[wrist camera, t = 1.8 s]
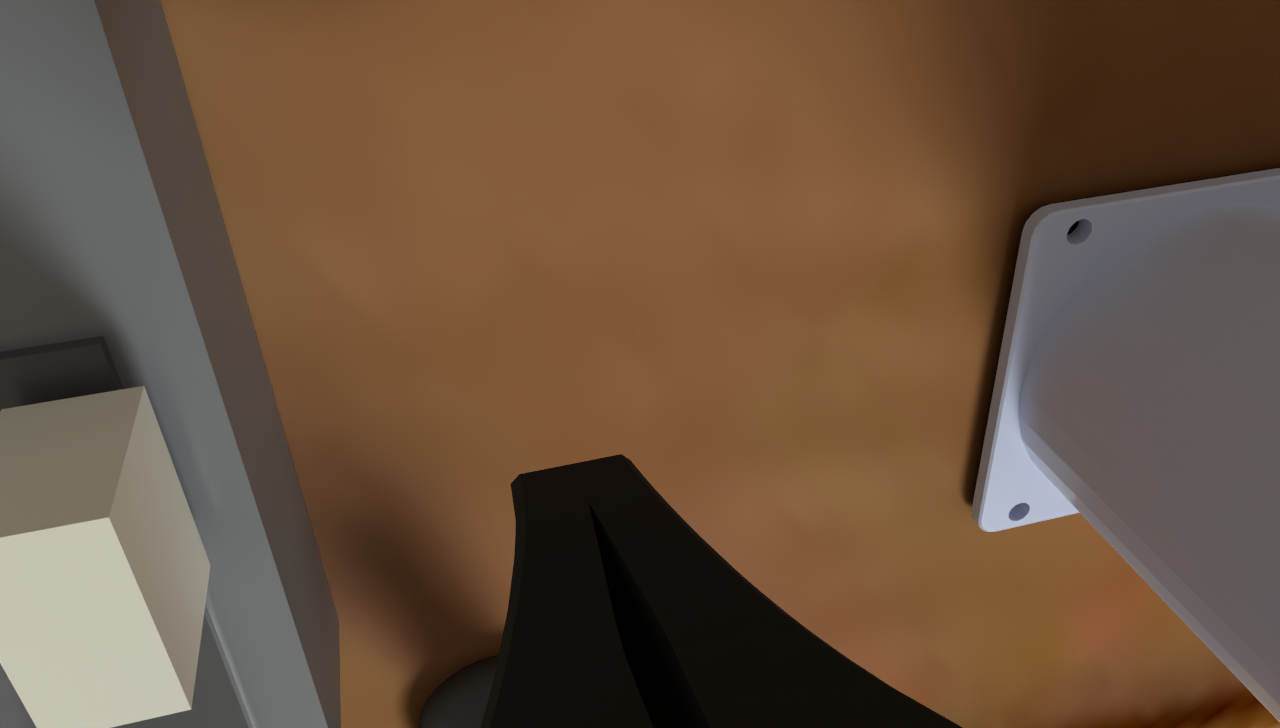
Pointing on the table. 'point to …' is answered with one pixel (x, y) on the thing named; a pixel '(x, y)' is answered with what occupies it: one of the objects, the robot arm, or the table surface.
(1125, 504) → the robot arm
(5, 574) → the block
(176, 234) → the block
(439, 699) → the cord stand
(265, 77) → the table surface
